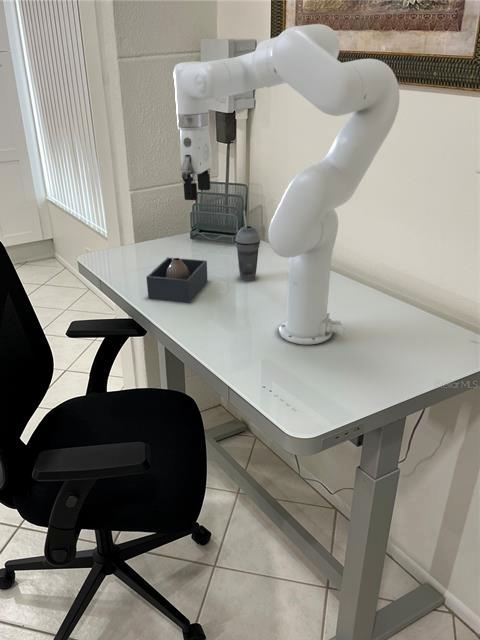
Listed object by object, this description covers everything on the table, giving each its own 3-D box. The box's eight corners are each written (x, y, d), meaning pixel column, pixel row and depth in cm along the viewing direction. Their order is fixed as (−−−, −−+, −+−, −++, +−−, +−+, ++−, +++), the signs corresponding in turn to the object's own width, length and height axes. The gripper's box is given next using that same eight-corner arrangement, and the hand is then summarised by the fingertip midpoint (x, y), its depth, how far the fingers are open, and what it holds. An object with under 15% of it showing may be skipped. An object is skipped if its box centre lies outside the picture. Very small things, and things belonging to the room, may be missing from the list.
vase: (190, 292, 166) (188, 263, 161) (166, 293, 166) (163, 264, 162) (190, 283, 172) (189, 254, 167) (167, 284, 172) (165, 255, 168)
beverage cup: (251, 285, 170) (251, 216, 159) (230, 280, 174) (229, 212, 163) (264, 276, 175) (265, 209, 164) (244, 272, 179) (243, 206, 168)
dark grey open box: (207, 281, 174) (206, 260, 170) (189, 303, 162) (188, 280, 158) (168, 278, 178) (167, 257, 174) (148, 298, 166) (146, 276, 162)
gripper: (195, 127, 131) (200, 204, 140) (219, 115, 145) (222, 186, 154) (164, 127, 133) (171, 203, 142) (191, 116, 147) (195, 186, 156)
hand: (197, 194), depth 148 cm, fingers open, 9 cm apart
